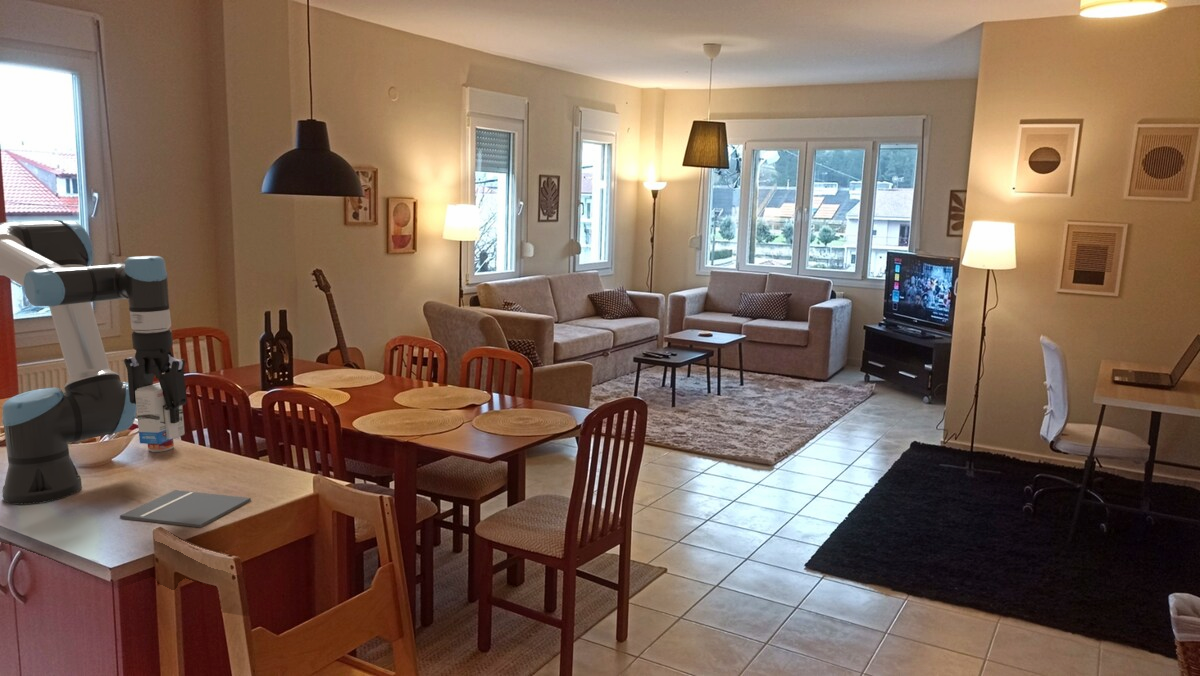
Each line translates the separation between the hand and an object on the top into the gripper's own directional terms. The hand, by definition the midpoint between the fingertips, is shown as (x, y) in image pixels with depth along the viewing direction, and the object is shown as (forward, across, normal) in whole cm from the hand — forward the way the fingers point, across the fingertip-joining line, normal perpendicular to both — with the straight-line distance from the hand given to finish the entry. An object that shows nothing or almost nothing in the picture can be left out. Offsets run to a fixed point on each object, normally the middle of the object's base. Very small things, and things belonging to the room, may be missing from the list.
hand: (161, 436), depth 184 cm
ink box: (+1, 0, 0) cm, 1 cm away
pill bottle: (+16, -33, +35) cm, 51 cm away
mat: (+16, +5, 0) cm, 17 cm away
